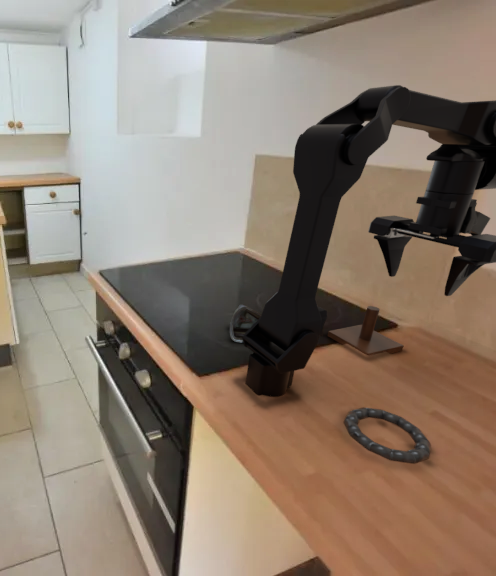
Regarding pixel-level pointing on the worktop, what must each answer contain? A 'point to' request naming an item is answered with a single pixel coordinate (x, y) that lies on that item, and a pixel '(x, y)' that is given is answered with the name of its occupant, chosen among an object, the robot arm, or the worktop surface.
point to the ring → (410, 456)
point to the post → (366, 336)
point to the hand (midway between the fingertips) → (418, 285)
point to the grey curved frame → (242, 322)
